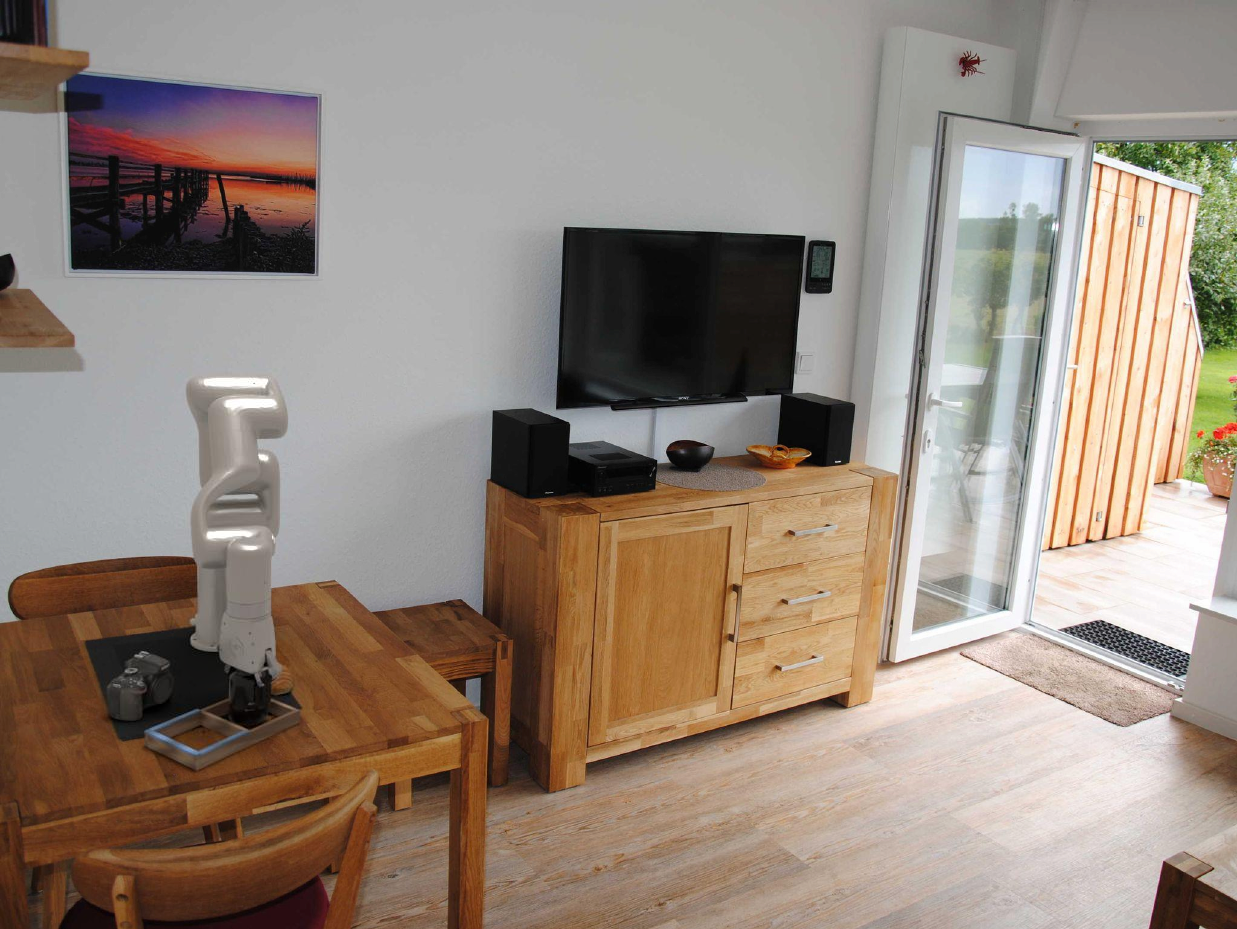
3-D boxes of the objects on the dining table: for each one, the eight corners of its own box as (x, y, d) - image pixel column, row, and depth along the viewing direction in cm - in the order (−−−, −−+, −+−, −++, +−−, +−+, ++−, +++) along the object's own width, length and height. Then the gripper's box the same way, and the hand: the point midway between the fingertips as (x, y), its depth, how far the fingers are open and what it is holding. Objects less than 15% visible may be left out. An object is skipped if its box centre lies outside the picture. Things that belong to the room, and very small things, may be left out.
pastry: (300, 693, 205) (300, 675, 204) (266, 700, 201) (266, 682, 200) (285, 675, 212) (285, 658, 211) (252, 681, 208) (251, 664, 208)
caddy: (144, 746, 180) (143, 730, 180) (249, 701, 199) (248, 687, 199) (197, 771, 174) (196, 755, 173) (300, 722, 193) (300, 708, 192)
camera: (161, 722, 189) (160, 671, 187) (103, 722, 187) (101, 671, 185) (180, 690, 202) (179, 642, 200) (126, 690, 200) (124, 641, 198)
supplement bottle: (255, 729, 188) (255, 668, 185) (221, 723, 189) (221, 662, 186) (275, 713, 194) (275, 653, 191) (242, 706, 195) (242, 647, 193)
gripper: (199, 600, 187) (199, 690, 192) (266, 625, 179) (265, 719, 183) (233, 589, 194) (233, 677, 198) (299, 613, 185) (298, 704, 190)
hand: (248, 696), depth 191 cm, fingers closed on supplement bottle, 6 cm apart
